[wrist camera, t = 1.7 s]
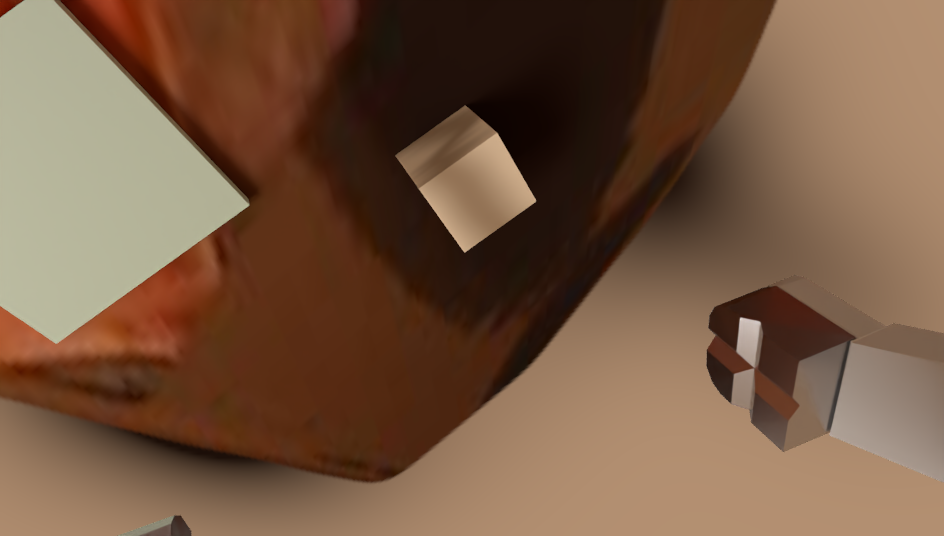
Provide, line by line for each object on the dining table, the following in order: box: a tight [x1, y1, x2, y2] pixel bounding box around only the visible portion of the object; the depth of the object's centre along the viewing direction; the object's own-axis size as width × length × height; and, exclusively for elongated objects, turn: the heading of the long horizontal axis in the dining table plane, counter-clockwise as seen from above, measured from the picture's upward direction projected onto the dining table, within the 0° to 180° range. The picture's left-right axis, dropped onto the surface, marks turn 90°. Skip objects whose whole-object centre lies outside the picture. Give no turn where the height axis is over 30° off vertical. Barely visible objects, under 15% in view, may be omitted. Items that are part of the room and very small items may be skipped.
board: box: [0, 0, 250, 344], centre depth 31 cm, size 13×13×1 cm
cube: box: [395, 105, 536, 252], centre depth 37 cm, size 5×5×5 cm
